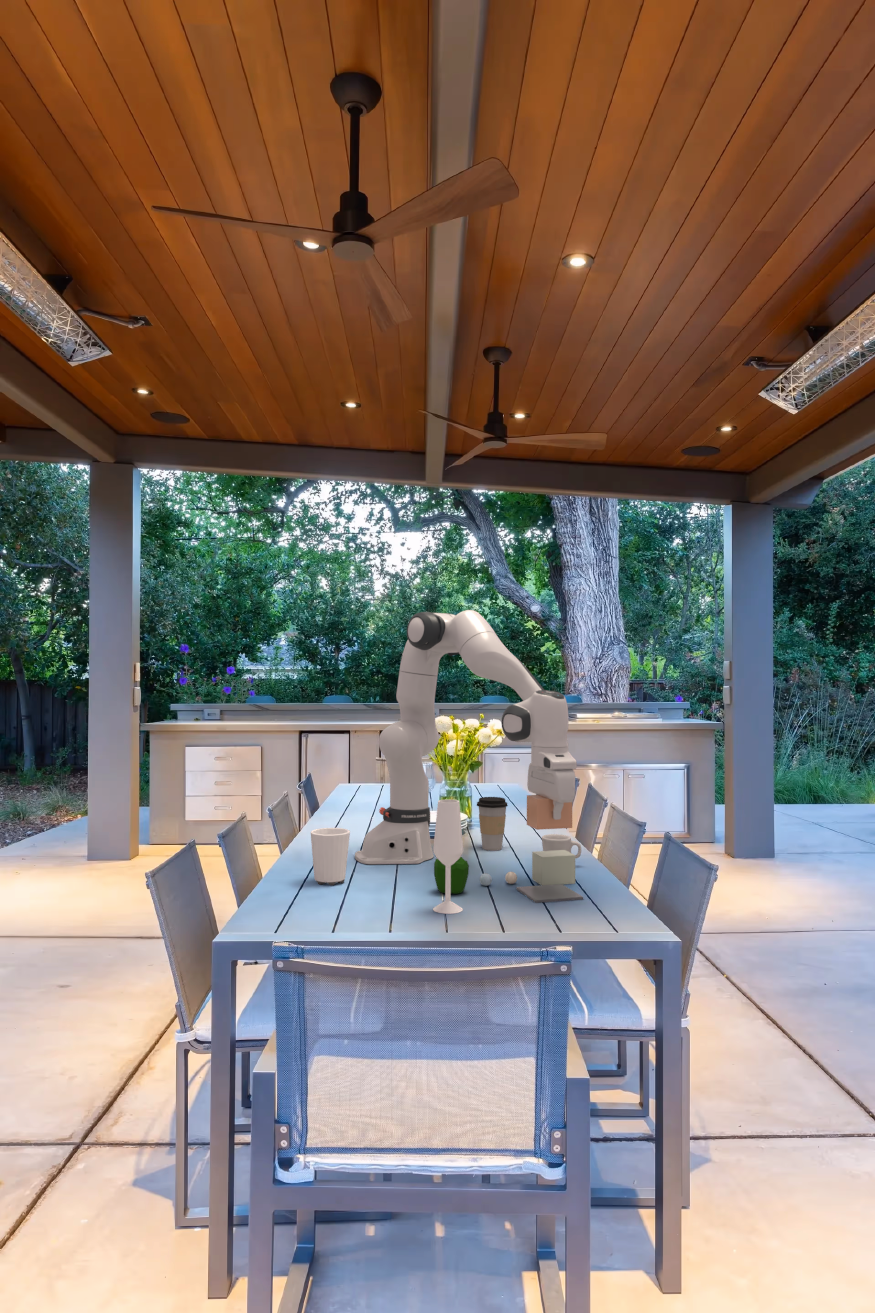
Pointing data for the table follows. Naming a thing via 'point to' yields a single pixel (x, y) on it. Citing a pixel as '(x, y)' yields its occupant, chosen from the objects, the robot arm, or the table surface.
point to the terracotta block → (547, 813)
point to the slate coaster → (549, 893)
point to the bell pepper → (452, 875)
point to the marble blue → (485, 879)
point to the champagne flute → (448, 847)
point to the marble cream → (511, 877)
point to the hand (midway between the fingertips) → (549, 816)
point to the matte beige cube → (553, 867)
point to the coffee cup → (492, 822)
